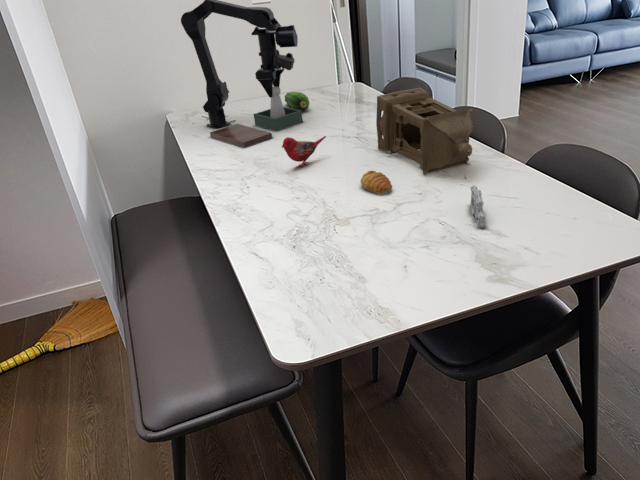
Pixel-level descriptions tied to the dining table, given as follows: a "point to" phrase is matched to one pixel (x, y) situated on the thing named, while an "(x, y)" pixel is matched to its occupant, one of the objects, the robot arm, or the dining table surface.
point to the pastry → (376, 182)
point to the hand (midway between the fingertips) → (274, 94)
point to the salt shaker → (276, 104)
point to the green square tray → (278, 119)
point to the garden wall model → (477, 206)
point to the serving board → (241, 135)
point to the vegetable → (297, 100)
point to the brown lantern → (423, 129)
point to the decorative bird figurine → (299, 149)
